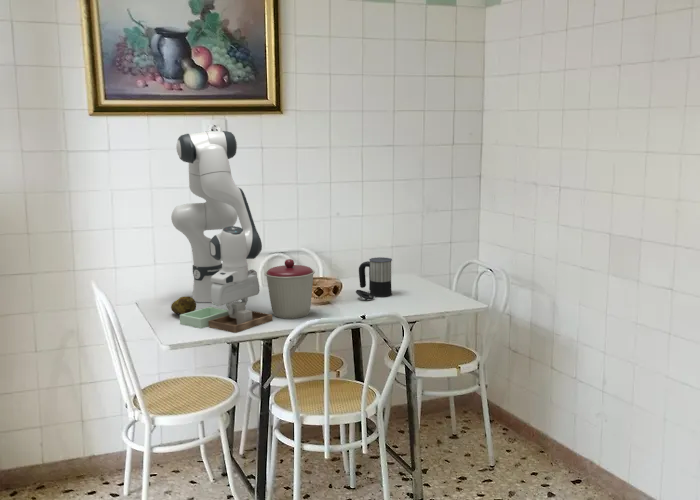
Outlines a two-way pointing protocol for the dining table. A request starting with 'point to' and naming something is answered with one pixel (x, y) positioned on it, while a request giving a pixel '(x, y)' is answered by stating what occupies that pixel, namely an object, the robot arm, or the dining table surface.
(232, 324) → the walnut tray
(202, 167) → the robot arm
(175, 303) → the potato
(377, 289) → the milk frother
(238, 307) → the stone
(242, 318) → the stone
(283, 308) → the canister
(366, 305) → the dining table surface
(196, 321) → the green bin
